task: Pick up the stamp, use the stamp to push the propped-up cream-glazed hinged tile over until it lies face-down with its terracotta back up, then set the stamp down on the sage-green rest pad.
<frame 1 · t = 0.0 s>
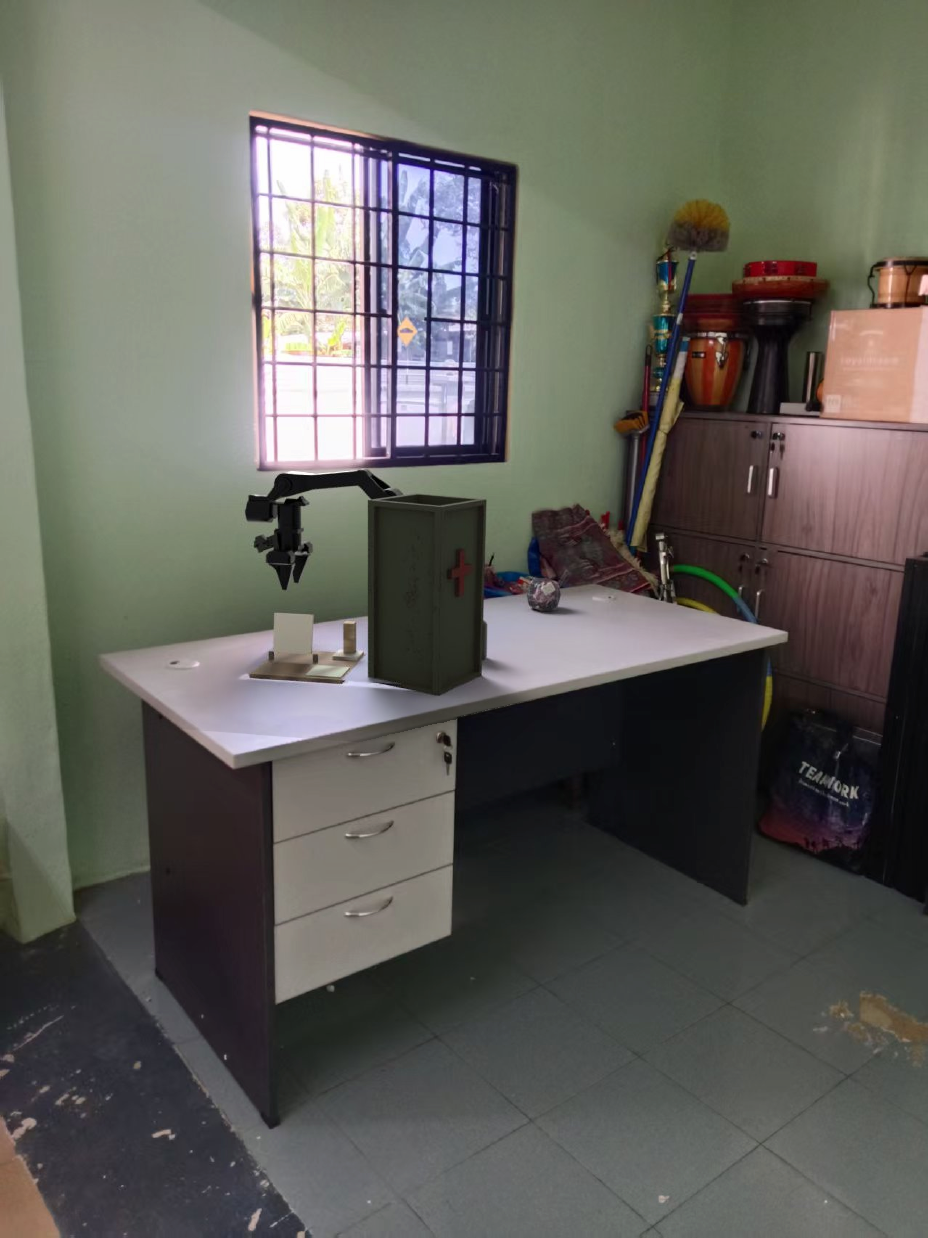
hand: (290, 586, 242), 15 cm above the table, tool pointing down, fingers open, 9 cm apart
first aid box: (425, 679, 219), on the table
supplement bottle: (472, 659, 236), on the table
stamp: (349, 655, 233), point 1 cm above the table, touching board
board: (310, 667, 225), on the table
tile: (293, 633, 226), point 7 cm above the table, hinge at 80.0°
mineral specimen: (543, 610, 291), on the table
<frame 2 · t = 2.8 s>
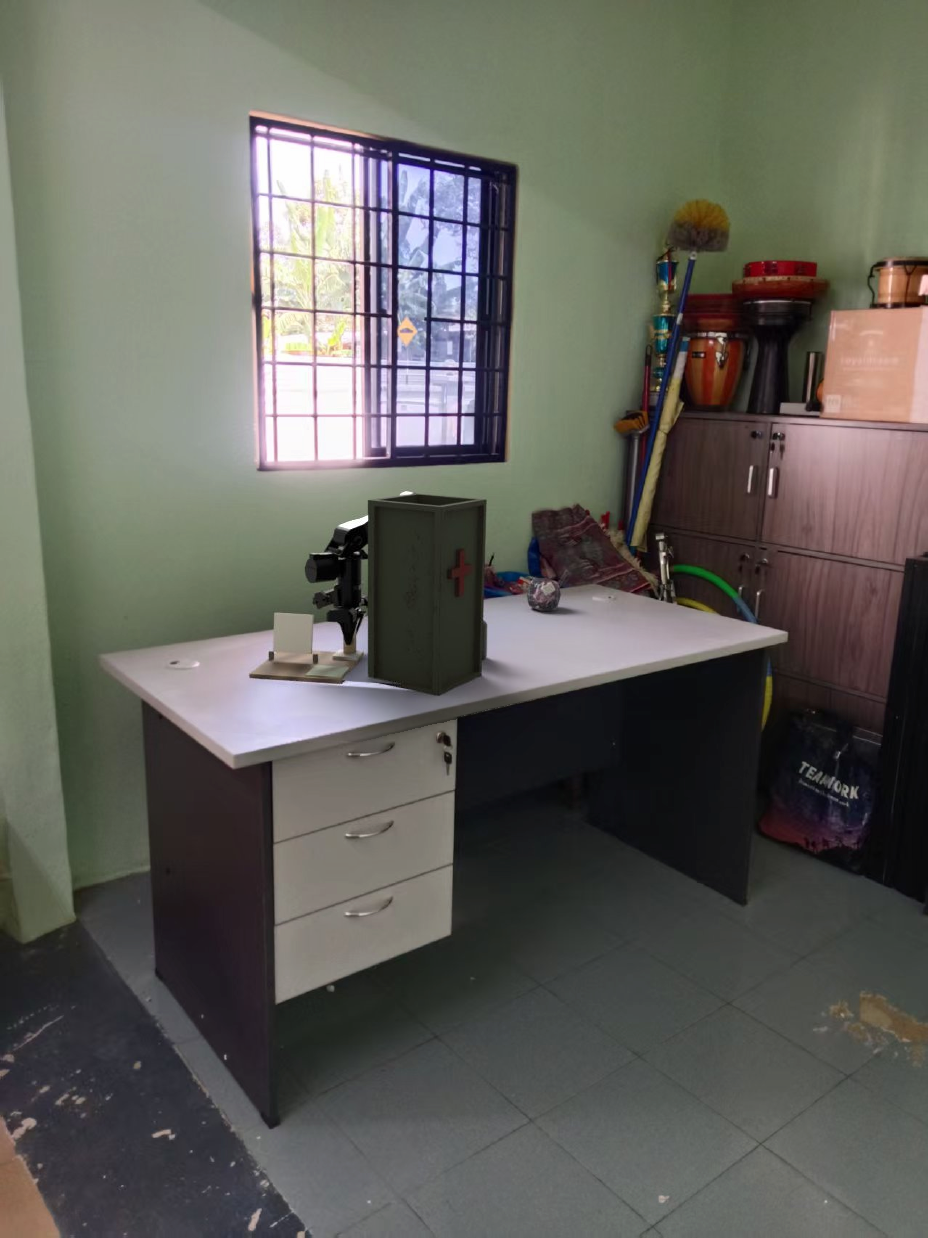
hand: (349, 643, 232), 4 cm above the table, tool pointing down, fingers closed on stamp, 2 cm apart
stamp: (349, 655, 233), point 1 cm above the table, touching board, gripper
everything else where it was.
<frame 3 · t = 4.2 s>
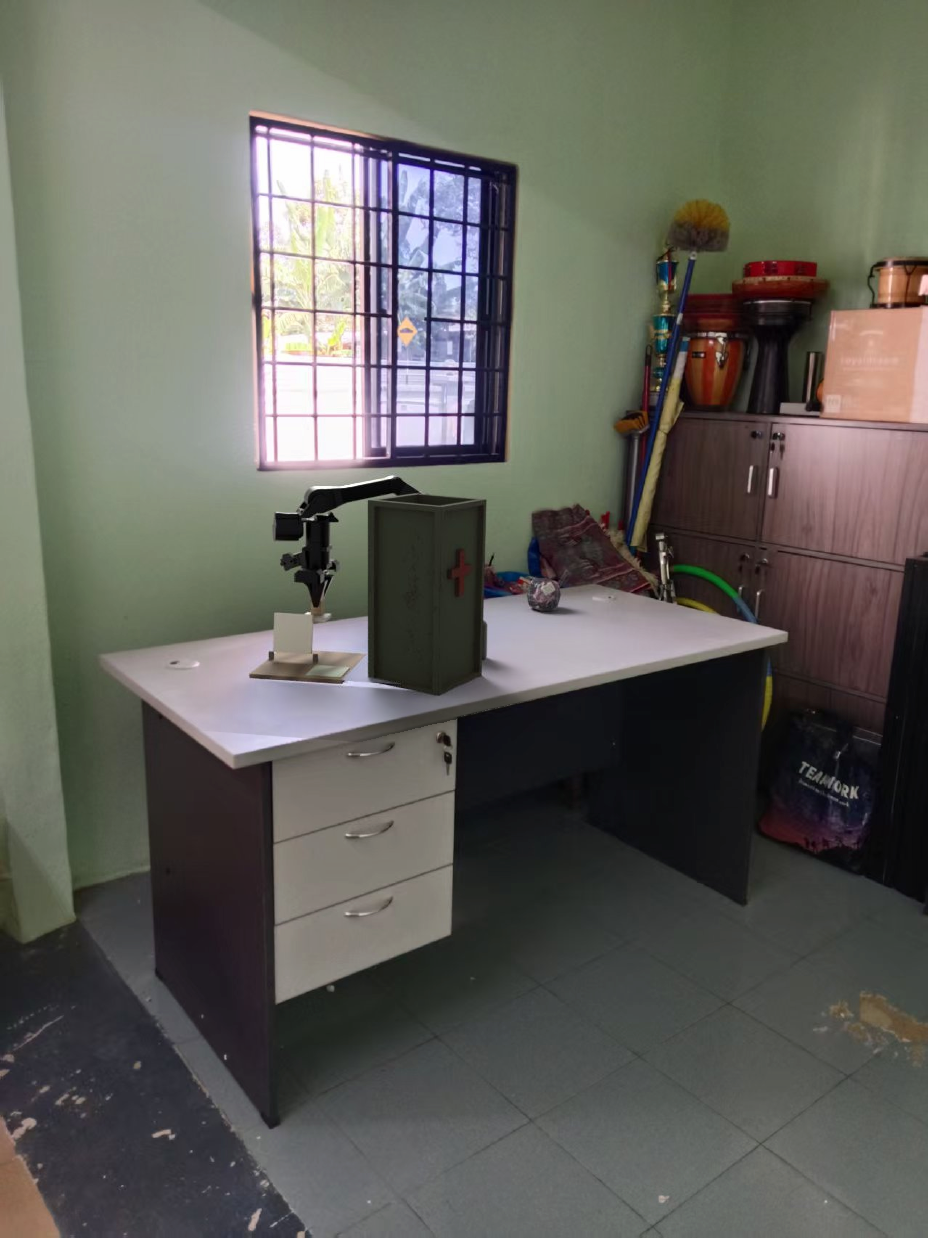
hand: (317, 606, 233), 12 cm above the table, tool pointing down, fingers closed on stamp, 2 cm apart
stamp: (317, 617, 233), point 9 cm above the table, touching gripper
everything else where it was.
when the fingers open (11 cm above the table, at t = 5.6 s): stamp stays where it is, resting on tile.
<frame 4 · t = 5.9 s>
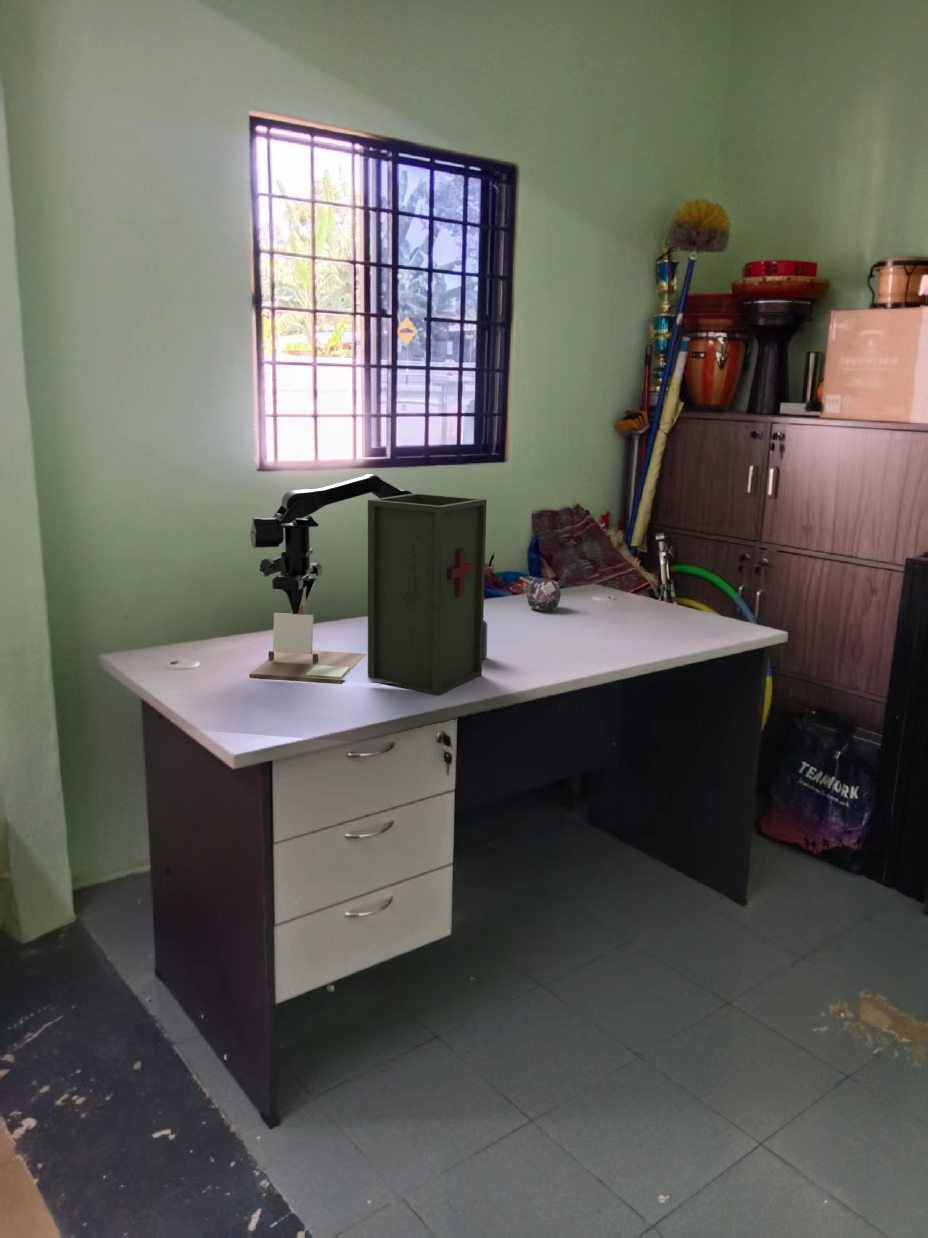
hand: (298, 611, 229), 12 cm above the table, tool pointing down, fingers open, 4 cm apart
stamp: (299, 622, 231), point 9 cm above the table, touching gripper, tile
tile: (293, 633, 226), point 7 cm above the table, hinge at 81.3°, touching stamp
everything else where it was.
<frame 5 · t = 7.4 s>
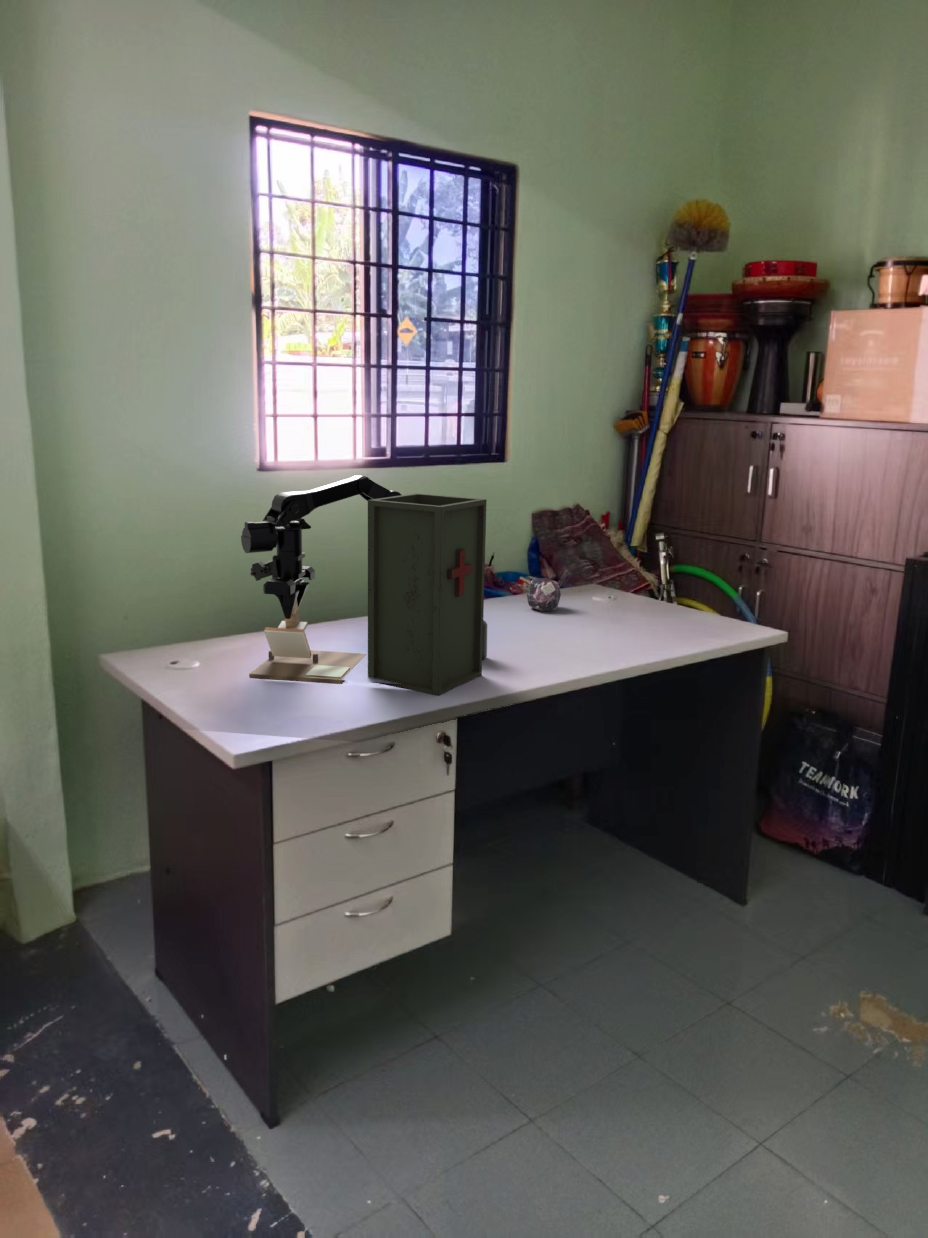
hand: (290, 616, 224), 12 cm above the table, tool pointing down, fingers open, 4 cm apart
stamp: (293, 627, 226), point 9 cm above the table, tilted 16°, touching gripper, tile
tile: (288, 643, 223), point 6 cm above the table, hinge at 126.5°, touching stamp
everything else where it was.
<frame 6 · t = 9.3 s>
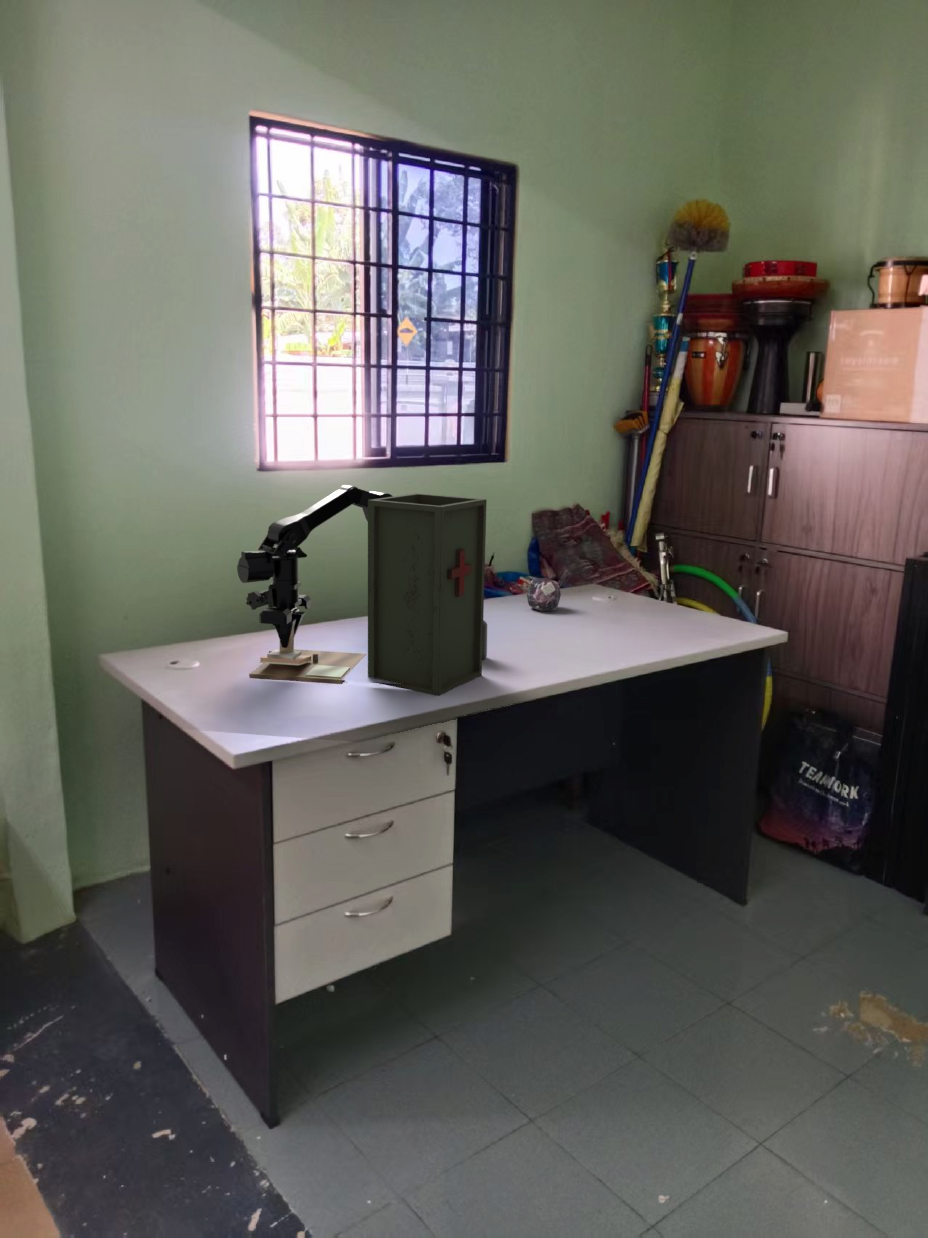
hand: (286, 645, 222), 6 cm above the table, tool pointing down, fingers closed on stamp, 3 cm apart
stamp: (286, 655, 222), point 3 cm above the table, tilted 6°, touching gripper, tile
tile: (286, 659, 222), point 3 cm above the table, hinge at 170.5°, touching stamp
everything else where it was.
when the fingers open (5 cm above the table, at t = 11.9 s): stamp drops 2 cm, resting on board.
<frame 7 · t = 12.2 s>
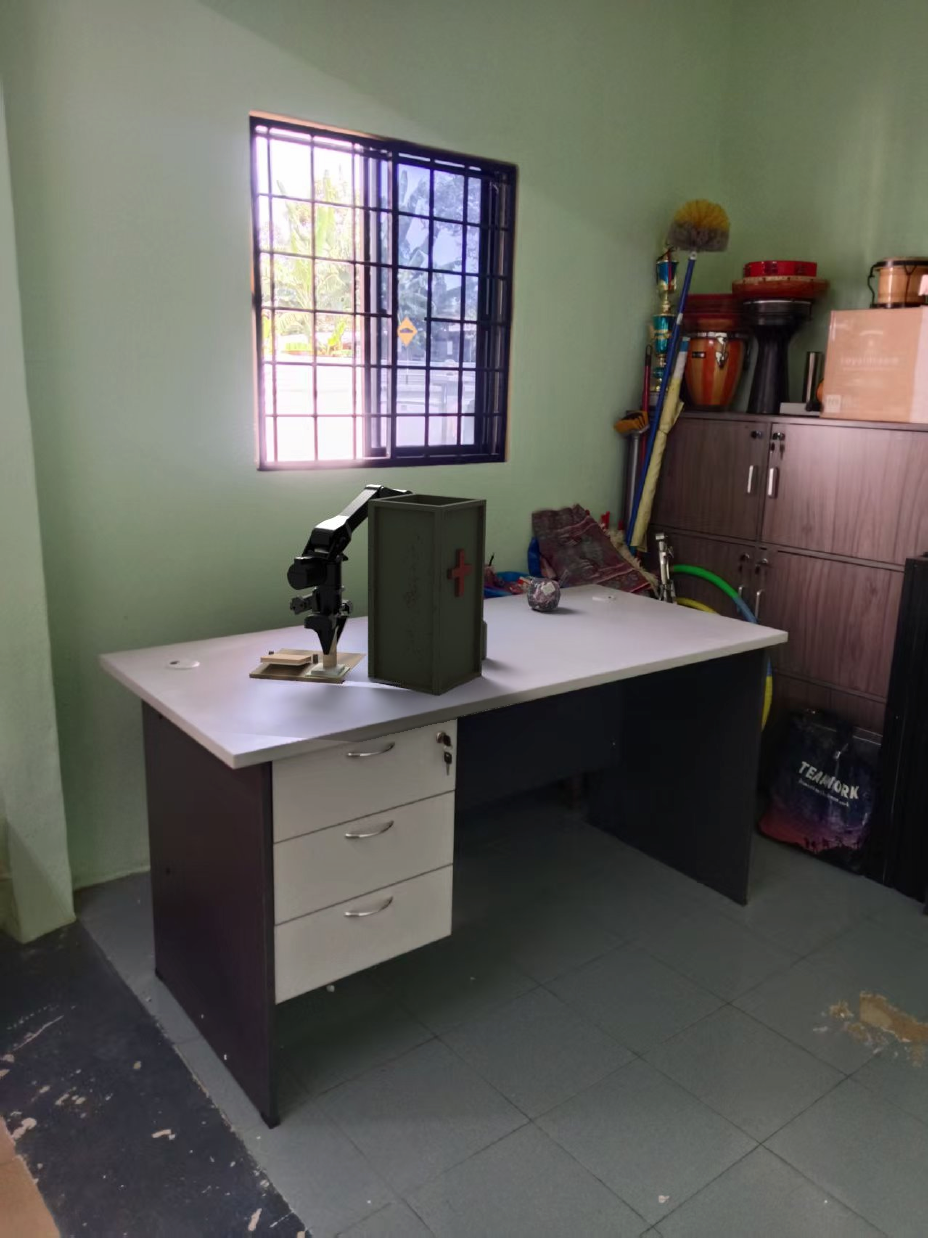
hand: (329, 651, 219), 5 cm above the table, tool pointing down, fingers open, 5 cm apart
stamp: (329, 669, 220), point 1 cm above the table, touching board
tile: (286, 659, 222), point 3 cm above the table, hinge at 170.5°
everything else where it was.
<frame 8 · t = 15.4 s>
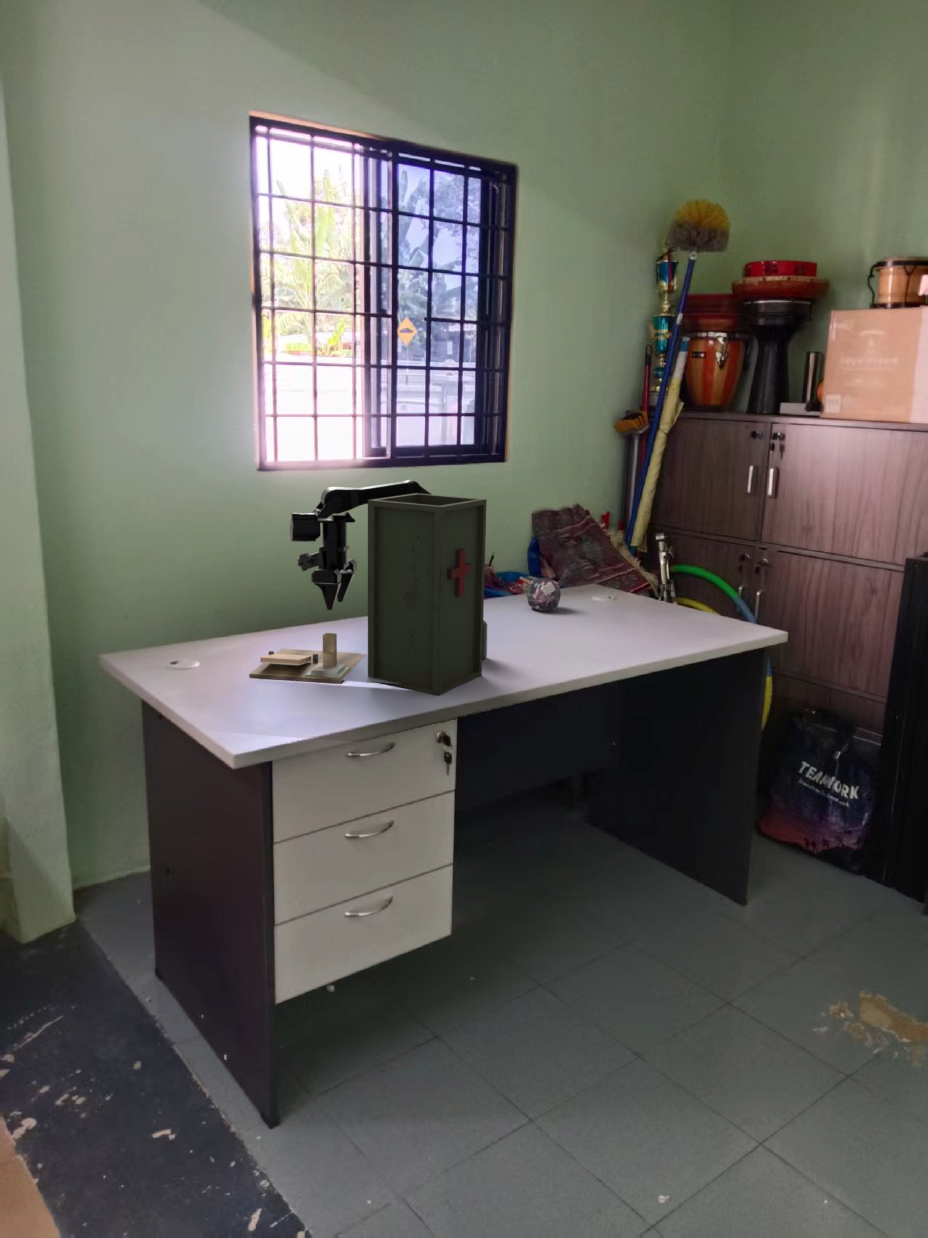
hand: (335, 605, 234), 12 cm above the table, tool pointing down, fingers open, 9 cm apart
nothing on the table moved.
at the end: tile at +170° (first picture: +80°); stamp inside the target area (0.2 cm from its centre), point 1.3 cm above the table; stamp tilted 0° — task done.
